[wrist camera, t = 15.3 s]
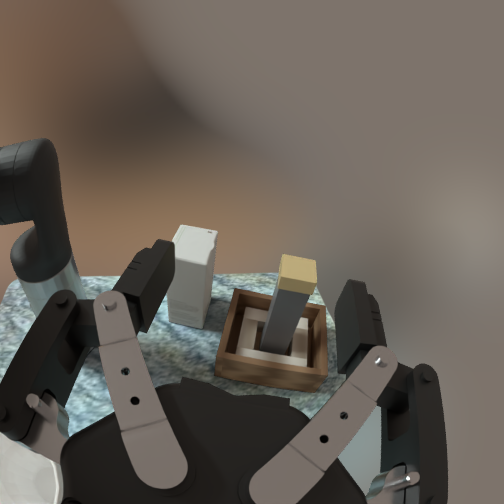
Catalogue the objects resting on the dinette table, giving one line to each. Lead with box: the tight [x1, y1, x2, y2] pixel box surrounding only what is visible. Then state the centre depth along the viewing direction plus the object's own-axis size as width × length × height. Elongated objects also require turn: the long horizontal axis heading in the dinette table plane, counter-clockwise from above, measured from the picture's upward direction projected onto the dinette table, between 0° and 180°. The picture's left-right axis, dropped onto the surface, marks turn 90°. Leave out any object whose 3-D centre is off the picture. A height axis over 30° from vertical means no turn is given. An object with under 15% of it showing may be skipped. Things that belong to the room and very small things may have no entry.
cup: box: [0, 432, 63, 504], centre depth 17 cm, size 12×12×11 cm
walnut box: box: [214, 288, 328, 393], centre depth 45 cm, size 16×14×6 cm
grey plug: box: [259, 254, 317, 355], centre depth 41 cm, size 4×4×18 cm
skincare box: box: [167, 225, 218, 329], centre depth 46 cm, size 8×7×16 cm
